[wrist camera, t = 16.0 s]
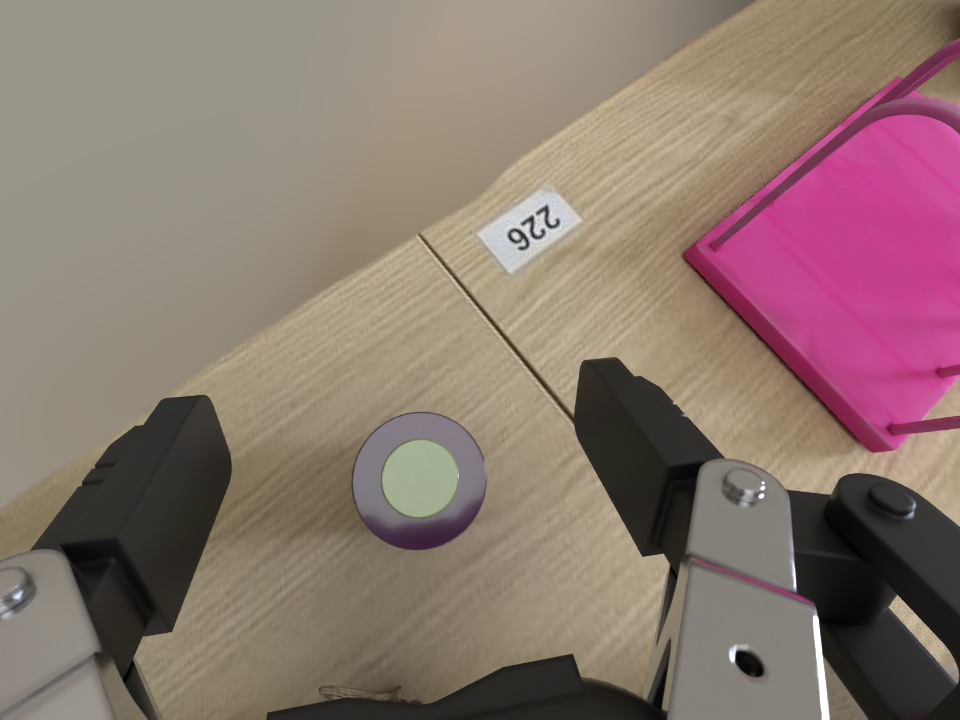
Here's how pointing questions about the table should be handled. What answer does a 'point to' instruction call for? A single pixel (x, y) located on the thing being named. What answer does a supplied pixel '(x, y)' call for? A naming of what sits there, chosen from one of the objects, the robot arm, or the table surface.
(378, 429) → the purple bottle
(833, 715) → the planter
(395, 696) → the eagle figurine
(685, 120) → the table surface
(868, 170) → the file sorter
